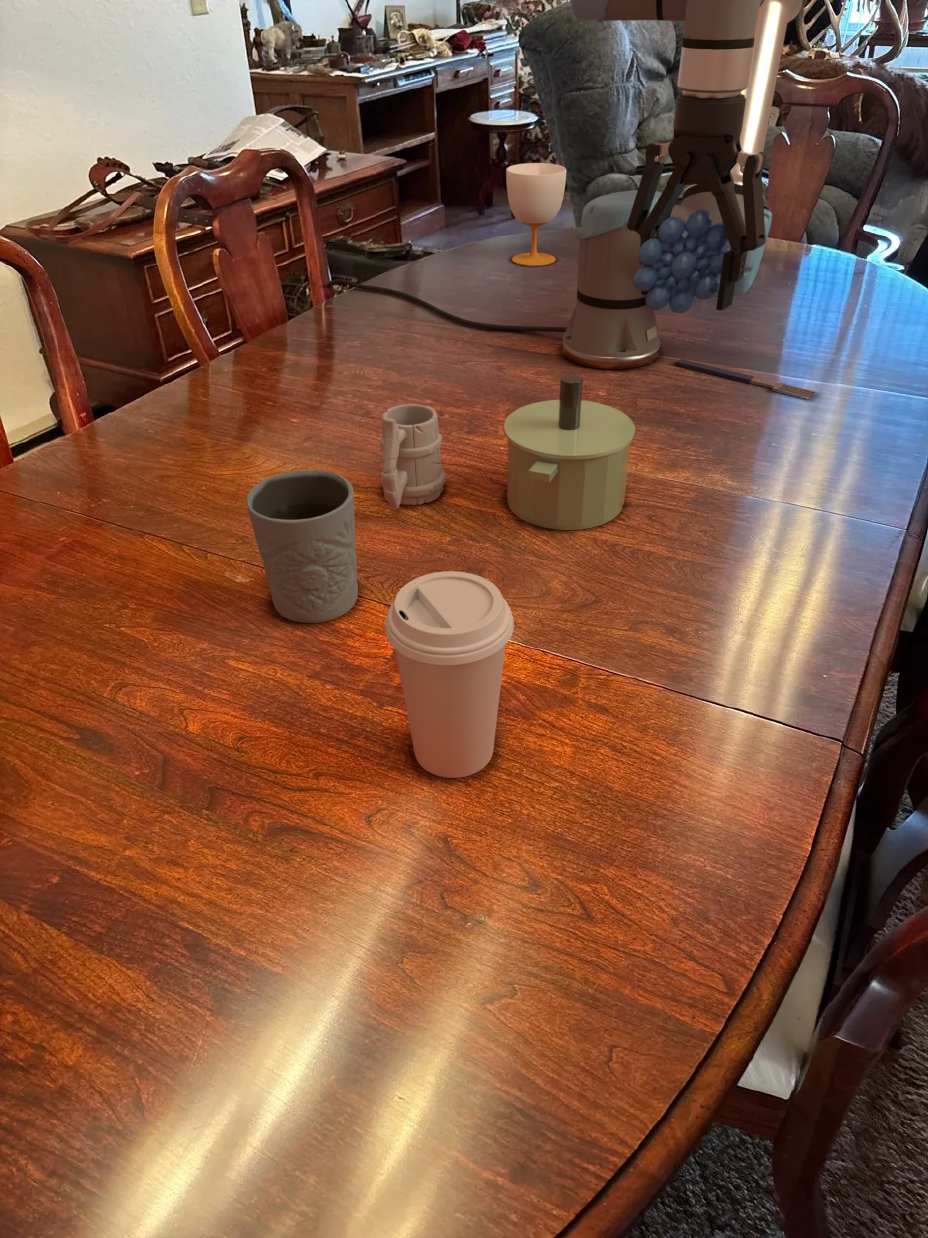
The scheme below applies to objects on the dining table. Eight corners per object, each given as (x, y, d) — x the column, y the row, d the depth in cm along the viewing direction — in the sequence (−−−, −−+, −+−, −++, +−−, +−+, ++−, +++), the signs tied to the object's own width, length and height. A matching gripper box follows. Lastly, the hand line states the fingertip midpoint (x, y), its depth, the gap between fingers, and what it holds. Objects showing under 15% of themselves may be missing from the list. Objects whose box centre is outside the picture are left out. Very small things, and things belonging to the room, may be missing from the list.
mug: (453, 480, 113) (451, 387, 106) (421, 528, 104) (416, 430, 97) (395, 472, 115) (389, 380, 108) (359, 518, 106) (349, 422, 99)
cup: (501, 267, 185) (502, 174, 175) (508, 251, 194) (509, 162, 184) (559, 268, 183) (564, 175, 173) (564, 252, 192) (568, 163, 182)
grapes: (723, 304, 117) (738, 203, 110) (727, 321, 111) (744, 214, 105) (630, 301, 118) (640, 200, 112) (630, 316, 113) (640, 211, 106)
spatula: (674, 366, 141) (674, 362, 141) (682, 361, 143) (682, 357, 143) (807, 399, 130) (808, 395, 130) (815, 393, 132) (816, 389, 132)
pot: (480, 527, 104) (479, 455, 99) (538, 456, 118) (541, 389, 112) (596, 552, 99) (602, 477, 94) (642, 475, 113) (650, 406, 108)
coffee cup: (394, 714, 79) (381, 569, 70) (504, 706, 80) (506, 561, 71) (397, 797, 72) (383, 646, 63) (519, 788, 72) (522, 636, 63)
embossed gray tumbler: (321, 639, 88) (306, 531, 81) (242, 608, 92) (221, 503, 85) (383, 587, 95) (375, 483, 88) (308, 560, 99) (293, 459, 92)
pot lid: (483, 450, 101) (483, 393, 97) (530, 400, 111) (532, 347, 107) (612, 474, 96) (617, 415, 92) (648, 419, 106) (655, 364, 103)
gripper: (824, 95, 97) (783, 308, 110) (640, 82, 109) (623, 276, 122) (795, 103, 93) (757, 325, 106) (606, 89, 104) (593, 290, 117)
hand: (685, 299), depth 114 cm, fingers closed on grapes, 9 cm apart
